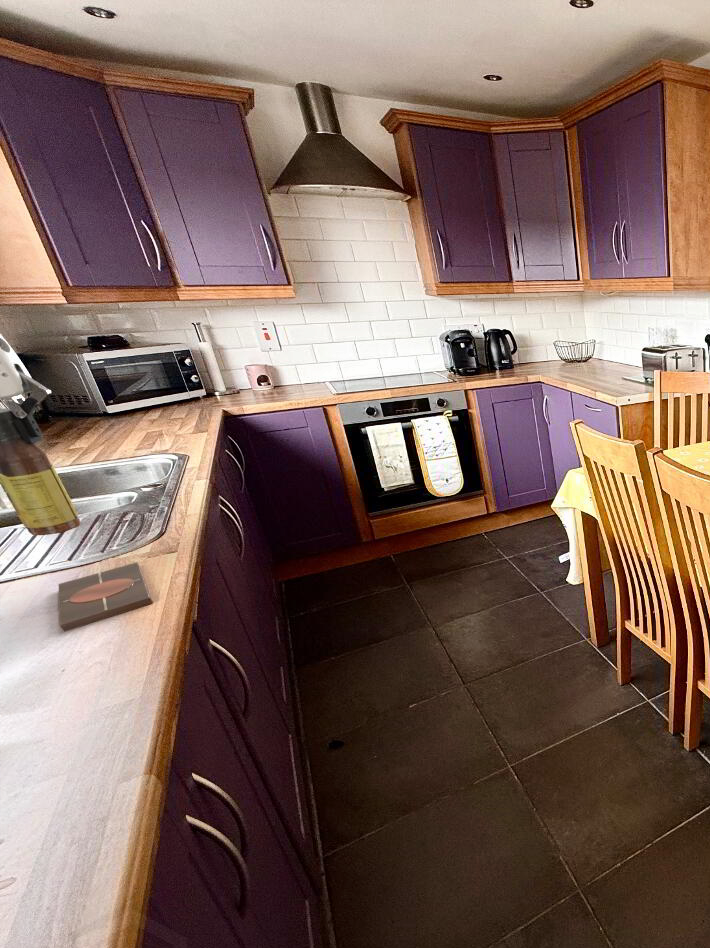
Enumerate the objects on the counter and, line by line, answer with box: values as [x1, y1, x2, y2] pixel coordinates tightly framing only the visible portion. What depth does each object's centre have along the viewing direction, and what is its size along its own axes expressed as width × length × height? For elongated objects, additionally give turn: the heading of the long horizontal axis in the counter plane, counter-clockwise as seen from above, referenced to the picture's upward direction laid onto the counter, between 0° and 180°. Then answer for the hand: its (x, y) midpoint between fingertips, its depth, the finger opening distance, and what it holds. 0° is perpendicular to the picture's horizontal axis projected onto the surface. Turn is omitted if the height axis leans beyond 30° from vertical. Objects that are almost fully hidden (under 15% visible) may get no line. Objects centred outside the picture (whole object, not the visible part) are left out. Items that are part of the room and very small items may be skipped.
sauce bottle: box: [0, 408, 82, 536], centre depth 92 cm, size 6×6×20 cm
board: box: [58, 562, 153, 632], centre depth 104 cm, size 22×11×1 cm, turn 47°
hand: (13, 443), depth 90 cm, fingers closed on sauce bottle, 4 cm apart
